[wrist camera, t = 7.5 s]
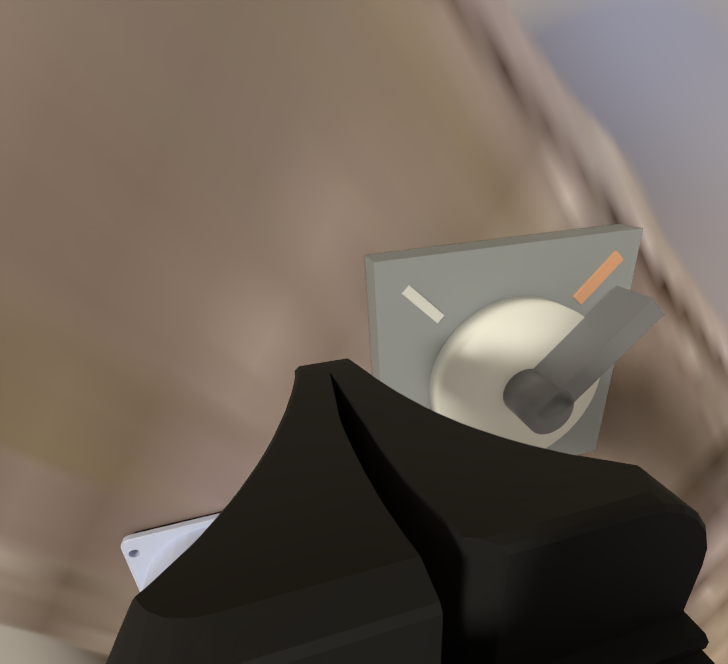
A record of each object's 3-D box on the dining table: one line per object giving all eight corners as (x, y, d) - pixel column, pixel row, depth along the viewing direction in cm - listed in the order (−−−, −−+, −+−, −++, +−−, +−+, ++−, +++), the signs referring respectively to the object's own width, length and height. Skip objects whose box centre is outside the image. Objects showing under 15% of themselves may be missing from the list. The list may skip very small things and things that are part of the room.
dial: (494, 469, 24) (531, 515, 21) (393, 394, 20) (420, 437, 17) (634, 334, 23) (695, 361, 20) (554, 224, 19) (615, 237, 16)
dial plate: (578, 436, 27) (597, 451, 26) (379, 484, 24) (387, 505, 23) (618, 223, 22) (645, 228, 20) (365, 254, 19) (374, 263, 17)
